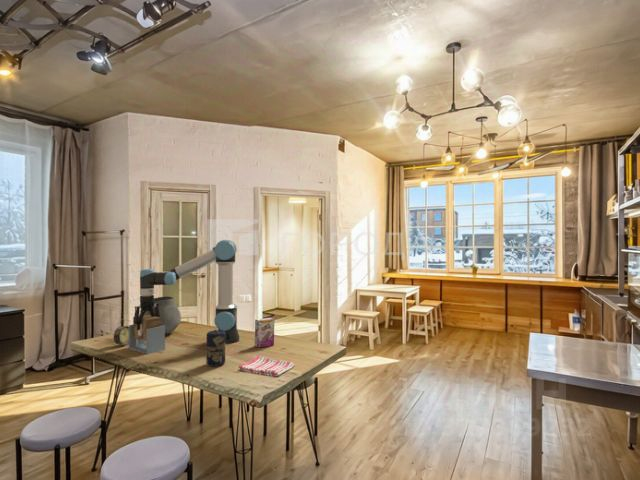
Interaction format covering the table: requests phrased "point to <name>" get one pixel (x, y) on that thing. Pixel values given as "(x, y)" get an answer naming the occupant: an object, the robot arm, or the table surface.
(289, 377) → the table surface
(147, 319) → the brown box
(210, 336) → the canister
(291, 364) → the dish towel
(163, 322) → the ceramic pot
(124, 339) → the alarm clock
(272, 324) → the candy bar box
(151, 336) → the cradle
